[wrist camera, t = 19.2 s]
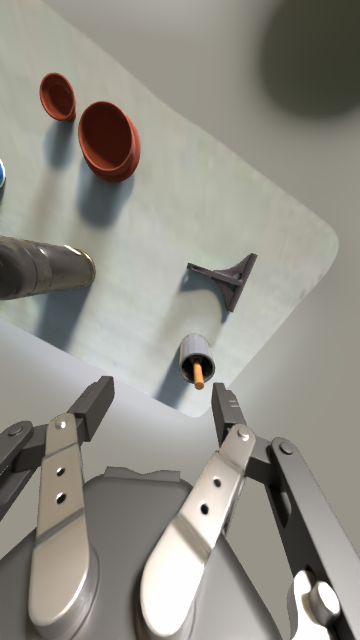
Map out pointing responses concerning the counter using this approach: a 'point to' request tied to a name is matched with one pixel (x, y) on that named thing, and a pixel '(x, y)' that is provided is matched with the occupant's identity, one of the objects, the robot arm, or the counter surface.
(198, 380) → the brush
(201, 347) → the grey metal cup
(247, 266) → the bracket
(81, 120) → the pottery
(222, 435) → the robot arm
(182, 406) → the counter surface
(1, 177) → the beverage bottle
